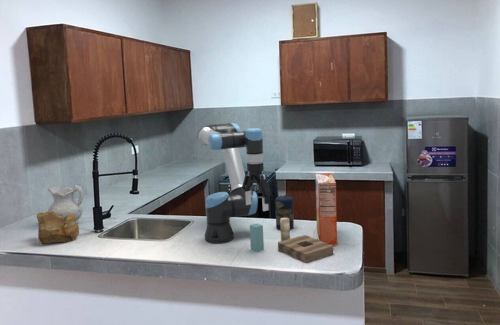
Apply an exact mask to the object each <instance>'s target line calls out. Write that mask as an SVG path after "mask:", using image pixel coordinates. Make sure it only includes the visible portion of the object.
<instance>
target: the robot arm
mask: <svg viewBox="0 0 500 325" xmlns="http://www.w3.org/2000/svg"><path fill="white" fill-rule="evenodd" d="M263 137H264V136H263V130H262V129H261V128H257V127H255V128H254V127H253V128H247V129H246V130H241V128H240V125H238V124H237V123H236V122H235V123H234V122H227V123H215V124H207V125H204V126H202V127H201V128H200V129H199V130H198V132H197V136H196V138H197V141H198V143H200V144H201V145H203V146H206V147H209V149H210V150H212V151H219V150H220V151H222V152H223V155H224V161H225V165H226V170H227V174H228V177H229V183H230V188H231V190H230V191H229V192H227V191H220V192H219V191H217V192H215V193H211V194H208V195H207V197H206V198H205V213H206V227H205V232H204V241H205V242H207V243H209V244H224V243H228V242H231V241H233V240H234V239H235V233H234V229H233V227H232V225H231V218H236V217H243V216H244V217H245V216H251V215H255V214H256V213H257V210H258V205H259V204H258V202H259V198H258V193H257V192H256V191H254V190H253V191H252V187H253V185H254V183H255V184H256V185H257V187H259V189H260V192H261V194H262V196H261V199H262V200H261V201H262V202H261V203H262V211H263V212H266V211H269V210H270V209H269V204H270V202H269V198H270V197H271V196H272V195H273V194H272V191H271V188H270V184H269V182H268V176H267V174H263V172H264V168H265V167H264V146H263V145H264V144H263V142H264V141H263ZM240 148H241V149H242V148H245V149H246V150H245V151H246V162H247V163H246V170H245V168H244V166H243V164H244V163H243V161H242V157H241V153H240Z"/></svg>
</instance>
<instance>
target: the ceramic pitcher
mask: <svg viewBox="0 0 500 325" xmlns="http://www.w3.org/2000/svg"><path fill="white" fill-rule="evenodd" d="M47 191H48V192H49V193H50V194H51V196H52V199H53V203H52V204H51V205H50V206H49V207H48V209H47V211H53V212H54V213H55V214H56V215H58V216H61V217H65V216H67V215H68V214H73V215H75V219H76V223H77V224H78V225H79V222H78V220H79V219H80V218H81V217H82V216H83V208H84V207H83V205H82V203H83V199H84V191H83V189H82V187H81V185H80V184H73V188H72V187H69V186H67V187H63V185H61V184H59V185H58V184H53V185H52V186H51V187H49V188H47ZM76 191H77V192H78V193H79V196H78V200H76V199H75V193H76Z"/></svg>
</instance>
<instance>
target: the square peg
mask: <svg viewBox="0 0 500 325" xmlns="http://www.w3.org/2000/svg"><path fill="white" fill-rule="evenodd" d="M249 235H250V236H249V238H250V239H249V240H250V250H251V251H253V252H255V253H258V252H262V251H265V247H264V246H265V245H264V244H265V243H264V226H263V224H260V223H258V222H257V223H253V224H249Z"/></svg>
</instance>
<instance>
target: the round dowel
mask: <svg viewBox="0 0 500 325" xmlns="http://www.w3.org/2000/svg"><path fill="white" fill-rule="evenodd" d="M280 225H281V229H280V241H284V240H288V239H291V229H290V222H289V218H281V219H280Z"/></svg>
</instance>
